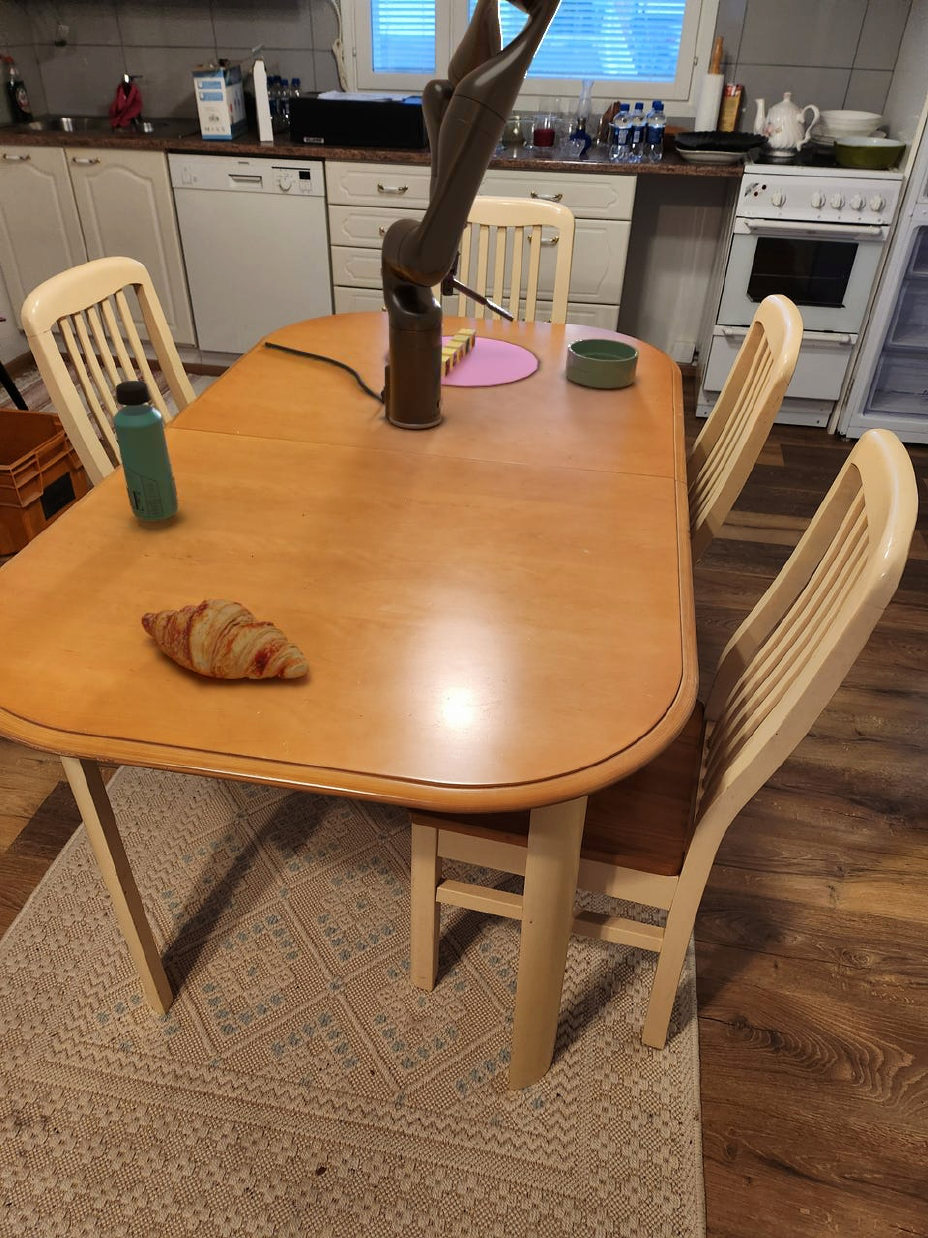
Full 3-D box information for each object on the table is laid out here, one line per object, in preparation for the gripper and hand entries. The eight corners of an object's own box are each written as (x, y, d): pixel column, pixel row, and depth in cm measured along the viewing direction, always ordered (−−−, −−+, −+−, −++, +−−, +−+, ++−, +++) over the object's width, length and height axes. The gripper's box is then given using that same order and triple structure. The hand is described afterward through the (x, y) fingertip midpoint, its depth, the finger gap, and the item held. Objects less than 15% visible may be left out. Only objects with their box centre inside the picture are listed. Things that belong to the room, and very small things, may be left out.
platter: (365, 373, 176) (365, 357, 174) (416, 330, 201) (416, 315, 199) (519, 395, 169) (520, 378, 167) (551, 347, 195) (553, 331, 193)
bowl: (552, 379, 177) (555, 350, 174) (585, 362, 187) (588, 334, 184) (615, 396, 171) (619, 366, 167) (645, 377, 181) (650, 348, 177)
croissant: (322, 688, 100) (335, 621, 98) (282, 705, 90) (295, 630, 89) (163, 644, 104) (173, 580, 103) (108, 655, 95) (119, 584, 94)
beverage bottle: (190, 514, 125) (168, 379, 114) (162, 535, 120) (137, 396, 109) (151, 506, 127) (126, 372, 115) (123, 526, 122) (93, 388, 110)
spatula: (509, 316, 184) (512, 263, 177) (513, 322, 180) (517, 267, 174) (427, 318, 181) (427, 264, 175) (430, 324, 178) (430, 269, 171)
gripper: (424, 194, 172) (423, 285, 181) (434, 207, 161) (433, 303, 171) (461, 194, 173) (459, 285, 183) (474, 207, 162) (470, 303, 172)
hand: (446, 293), depth 177 cm, fingers closed on spatula, 1 cm apart
